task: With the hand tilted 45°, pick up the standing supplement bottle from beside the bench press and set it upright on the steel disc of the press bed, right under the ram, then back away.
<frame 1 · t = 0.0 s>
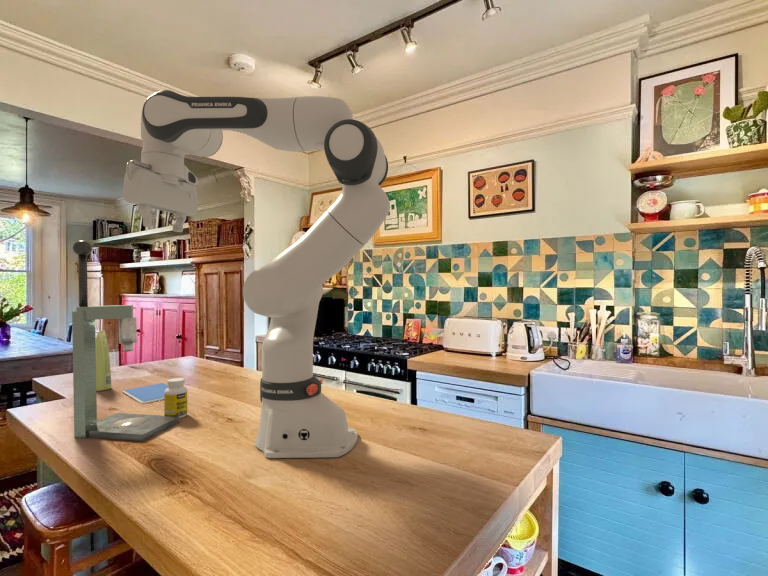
hand: (164, 229, 94), 48 cm above the kitchen island, tool pointing down, fingers open, 8 cm apart
supplement bottle: (176, 417, 105), on the kitchen island
tube: (102, 389, 133), on the kitchen island
tablet computer: (153, 396, 127), on the kitchen island
press: (129, 429, 97), on the kitchen island
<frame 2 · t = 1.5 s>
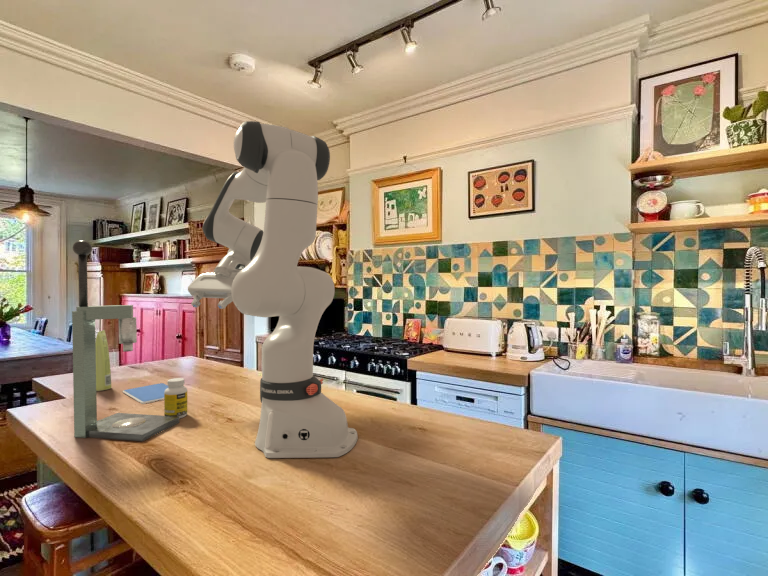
hand: (207, 306, 116), 28 cm above the kitchen island, tool tilted 45°, fingers open, 8 cm apart
nothing on the kitchen island moved.
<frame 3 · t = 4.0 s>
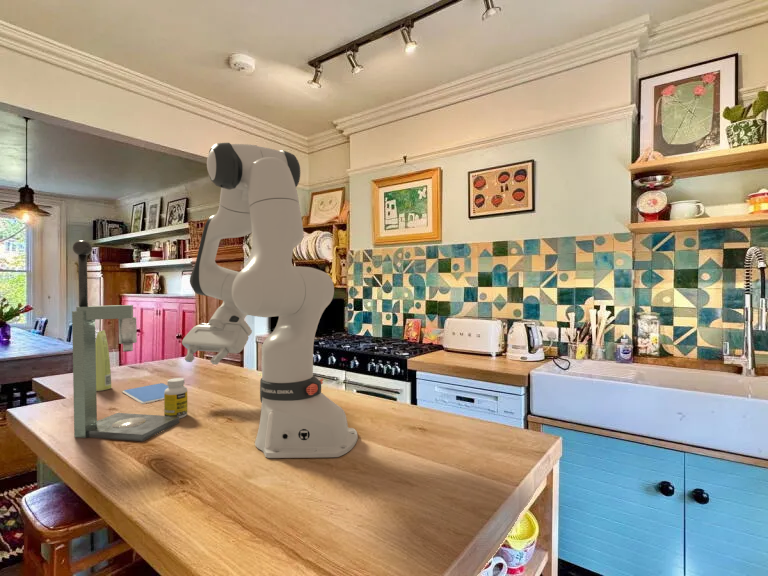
hand: (200, 362, 113), 13 cm above the kitchen island, tool tilted 45°, fingers open, 8 cm apart
nothing on the kitchen island moved.
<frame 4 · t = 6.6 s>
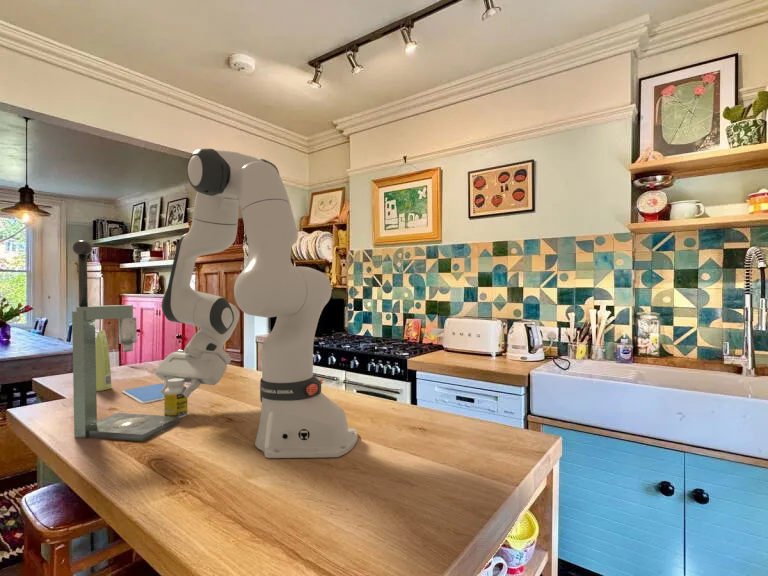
hand: (173, 394, 105), 6 cm above the kitchen island, tool tilted 45°, fingers closed on supplement bottle, 5 cm apart
supplement bottle: (176, 417, 105), on the kitchen island, touching gripper
everything else where it was.
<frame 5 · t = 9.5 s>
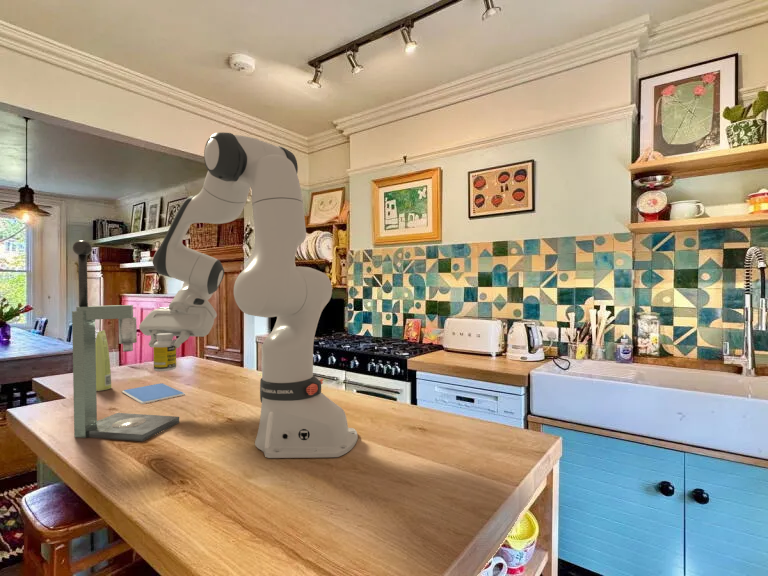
hand: (163, 346, 108), 18 cm above the kitchen island, tool tilted 45°, fingers closed on supplement bottle, 5 cm apart
supplement bottle: (165, 370, 108), point 12 cm above the kitchen island, touching gripper
everything else where it was.
when the fingers open (9 cm above the kitchen island, at t = 12.6 s): supplement bottle stays where it is, resting on press.
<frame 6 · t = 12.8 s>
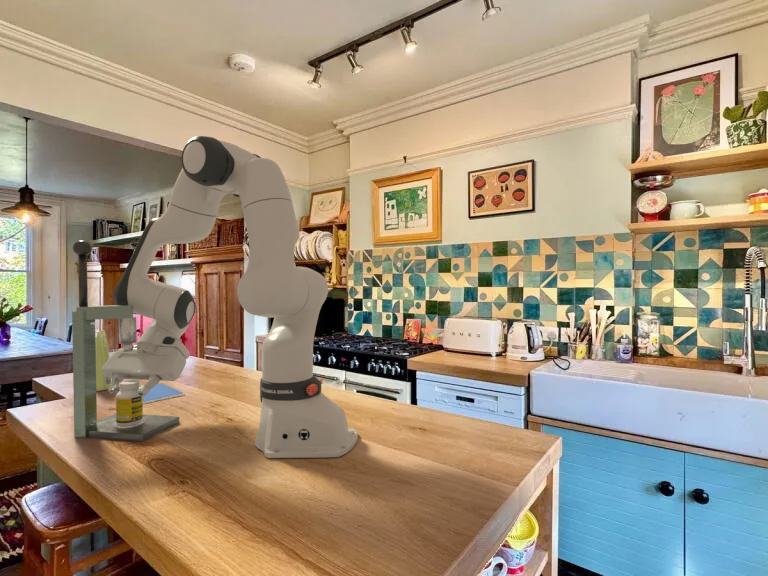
hand: (126, 393, 96), 9 cm above the kitchen island, tool tilted 45°, fingers open, 7 cm apart
supplement bottle: (129, 423, 97), point 1 cm above the kitchen island, touching press
everything else where it was.
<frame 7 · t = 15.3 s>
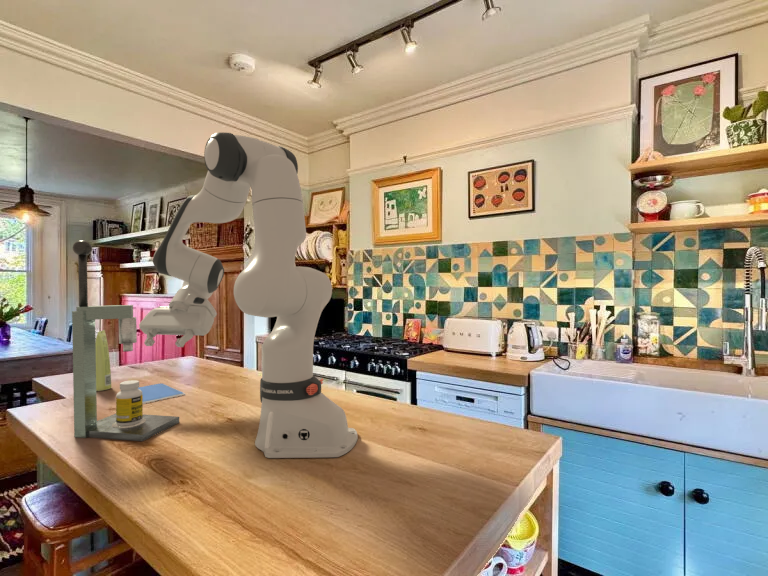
hand: (163, 345, 108), 18 cm above the kitchen island, tool tilted 45°, fingers open, 8 cm apart
nothing on the kitchen island moved.
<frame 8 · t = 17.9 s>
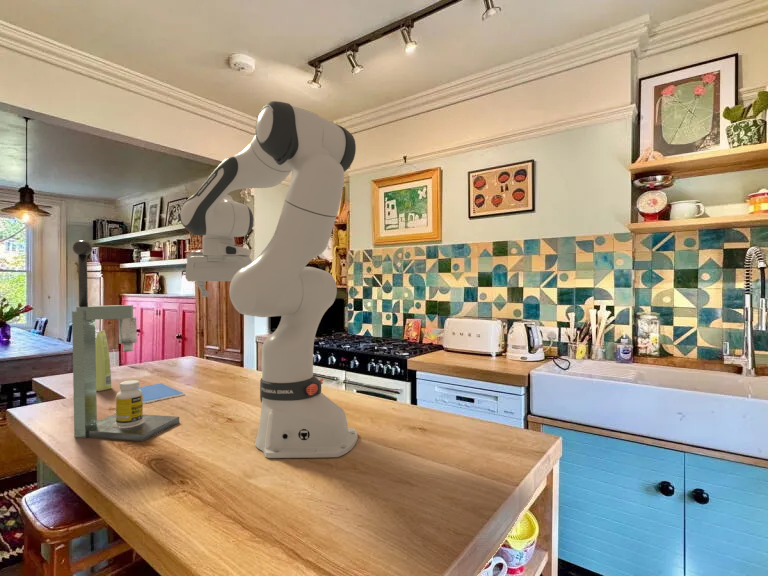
hand: (219, 296, 118), 31 cm above the kitchen island, tool pointing down, fingers open, 8 cm apart
nothing on the kitchen island moved.
at the end: supplement bottle inside the target area on the press (0.1 cm from its centre), point 1.4 cm above the press's base; supplement bottle tilted 0°; the gripper is holding nothing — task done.
